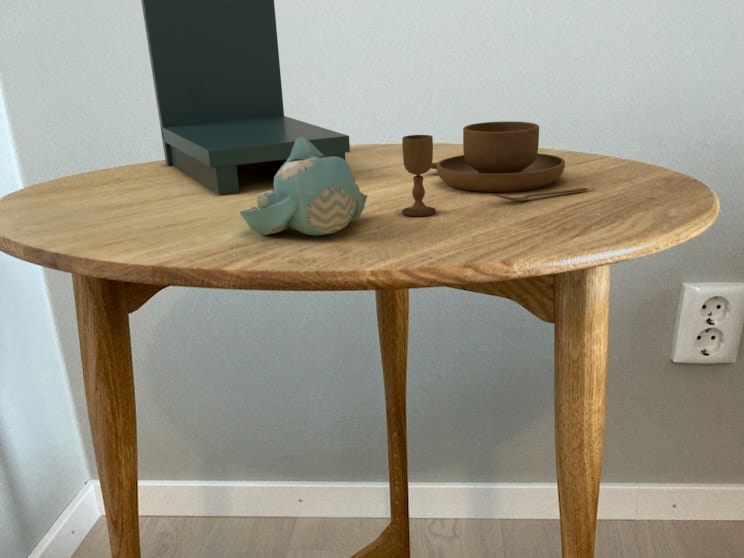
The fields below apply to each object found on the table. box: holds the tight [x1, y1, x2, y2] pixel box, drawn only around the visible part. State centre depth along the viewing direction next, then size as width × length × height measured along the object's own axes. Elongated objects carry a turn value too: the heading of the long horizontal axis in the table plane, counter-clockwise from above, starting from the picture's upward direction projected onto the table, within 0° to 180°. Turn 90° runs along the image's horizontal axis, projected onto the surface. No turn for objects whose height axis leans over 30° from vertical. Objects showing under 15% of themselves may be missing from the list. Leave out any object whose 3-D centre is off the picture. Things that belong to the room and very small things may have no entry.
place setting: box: [401, 120, 589, 217], centre depth 83 cm, size 18×20×6 cm
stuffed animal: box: [239, 137, 368, 237], centre depth 71 cm, size 11×7×12 cm
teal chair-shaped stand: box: [140, 0, 351, 196], centre depth 91 cm, size 21×14×22 cm, turn 24°
